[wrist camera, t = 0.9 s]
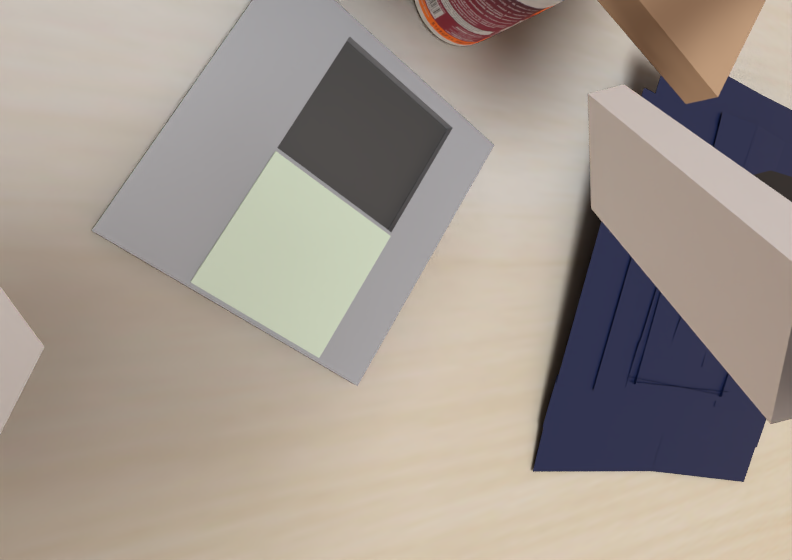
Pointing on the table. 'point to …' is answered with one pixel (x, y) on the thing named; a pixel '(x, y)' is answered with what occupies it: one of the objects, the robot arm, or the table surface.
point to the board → (301, 182)
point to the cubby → (688, 39)
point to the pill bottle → (476, 17)
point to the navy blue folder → (659, 336)
